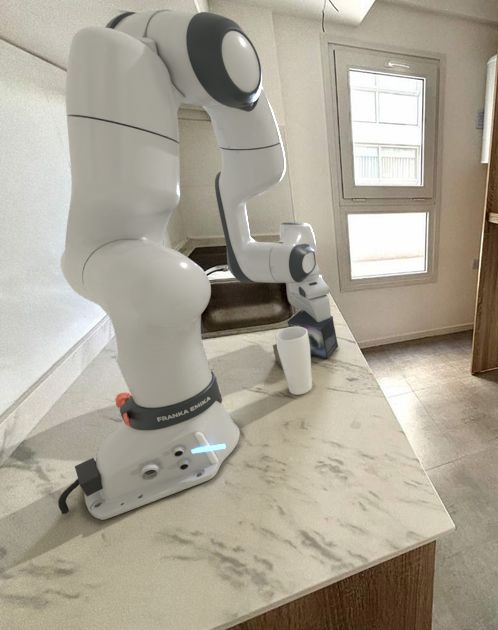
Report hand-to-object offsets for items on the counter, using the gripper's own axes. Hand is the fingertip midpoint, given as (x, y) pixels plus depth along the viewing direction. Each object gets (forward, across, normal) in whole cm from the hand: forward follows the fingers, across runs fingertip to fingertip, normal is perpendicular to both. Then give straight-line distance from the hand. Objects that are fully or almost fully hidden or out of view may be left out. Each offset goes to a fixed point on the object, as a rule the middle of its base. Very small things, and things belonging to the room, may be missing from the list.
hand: (310, 326), depth 96 cm
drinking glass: (+5, +19, -12) cm, 23 cm away
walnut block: (+5, +6, -10) cm, 13 cm away
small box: (+5, +6, -2) cm, 8 cm away
